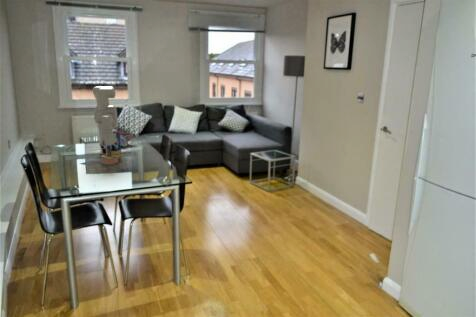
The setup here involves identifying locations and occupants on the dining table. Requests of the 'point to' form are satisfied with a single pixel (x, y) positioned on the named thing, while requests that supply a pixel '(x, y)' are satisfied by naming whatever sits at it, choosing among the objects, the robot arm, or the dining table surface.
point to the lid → (109, 155)
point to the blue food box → (118, 146)
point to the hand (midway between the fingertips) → (109, 152)
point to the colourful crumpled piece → (124, 138)
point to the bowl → (110, 161)
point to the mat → (91, 163)
